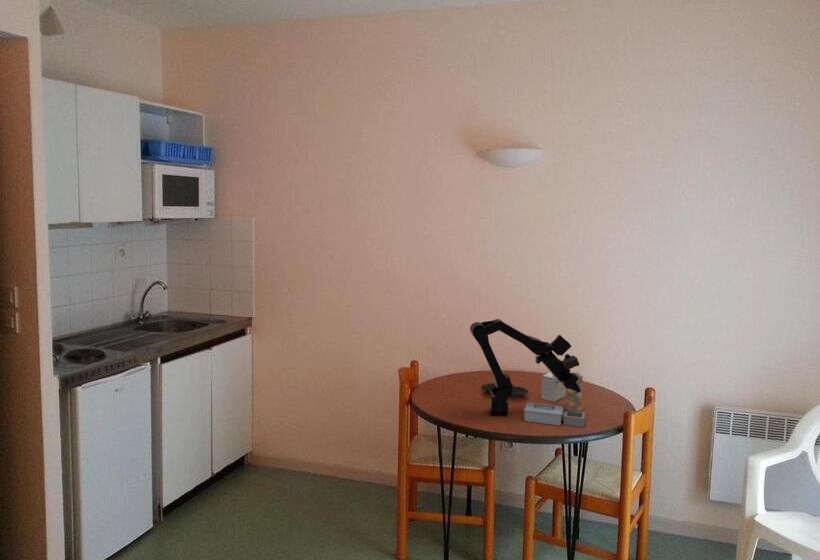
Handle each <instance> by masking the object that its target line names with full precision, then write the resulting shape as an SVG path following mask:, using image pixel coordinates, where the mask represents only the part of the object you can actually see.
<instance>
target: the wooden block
mask: <svg viewBox="0 0 820 560" xmlns="http://www.w3.org/2000/svg"><path fill="white" fill-rule="evenodd" d="M573 373H574V374H575V375H576V376H577V377H578V378H579V379H578V380H577V381H576V383H577V385H578V387H579V388H580V390H581V391H580V392H576V391H574V390H572V389H567V397H566V410H568V411H576V412H582V411H581V410H582V395H583V394H582V393H583V382H584V381H583V378H584V375H583V374H581V373H580V372H573Z"/></svg>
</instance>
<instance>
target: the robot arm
mask: <svg viewBox="0 0 820 560" xmlns="http://www.w3.org/2000/svg"><path fill="white" fill-rule="evenodd" d="M469 332H470V333H471V335H472V336H473V338H474V340H475V341H476V342H477V343H478V345H479V347H480V349H481V351H482V353H483V355H484V358H485V360H486V362H487V364H488V367H489V368H490V371H491V373H492V375H493V382H494V386H493V387H492V388H491V389H490V390H489V391H490V392H489V393H490V395H491V397H490V408H489V413H490V415H491V416H503V417H504V416H505V417H507V416H508V412H509V402H508V399H509V397H511V395H512V394H513V392H514V388H513V387H514V384H513V383H512V381H511V377H510V376H509V374H507V373H505V374H504V373H503V371H502V369H501V367H500V365H499V362H498V359H497V357H496V355H495V353H494V351H493V348H492V347H491V344H490V340H489V335H492V334H494V333H496V332H501V333H503V334H505V335H506V336H508V337H510V338H512V339H513V340H515V341H516V342H519V343H520V344H521V345H523V346H525V348H527V350H529V351H530V352H531V353H533V354H534V355H535V363H536V364H537V365H539V364H540V363H542V364H543V365H544V366H545V367H546V368H547V369H548V371H550V372H552V374H553V375H554V377H556V378H558V380H559V381H560V382H562V384H563V385H564V386H565V387H566V389H567V390H568V389H572V390H574V391H576V392H580V391H581V390H580V388H579V387H578V385H577V383H576V381H577V380H578V379H579V378H578V377H577V376H576V375H575V374H574V373H575V372H571V369H573V368H575V367H579V366H580V362H579V359H578V358H577V357H576V356H575V355H570V354H569V353H567V351H569V350H571V348H572V345H571V343H570V342H569V341H567V340H566V339H565V338H564V337H563V336H562V335H561V334H558V335H557V336H556V338H555V339H554V340H553V341H551V342H548V341H542V340H541V339H540V338H538V337H535V336H532V335H529V334H528V335H527V334H525V333H523V332H521V331H520V330H518V329H517V328H514V327H513V326H511V325H509V324H508V323H506V322H504V321H502V320H501V319H500V318H496V319H493V320H489V321H487V320H485V321H482V322H479V321H475V322H473V323H472V324H471V325H470V327H469ZM565 353H566V354H565ZM558 356H564V358H563V360H561V359H559V358H558Z"/></svg>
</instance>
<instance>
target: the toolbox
mask: <svg viewBox="0 0 820 560" xmlns="http://www.w3.org/2000/svg"><path fill="white" fill-rule="evenodd" d="M564 410H565V411H564ZM523 413H524V414H523V415H524V418H523V420H524V422H529V423H537V424H545V425H554V426H561V424H562V422H563V426H570V427H577V428H584V426H585V422H586V412H584V411H581V412H576V411H569V410H568V409H565V406H562V405H556V404H555V405H554V404H546V403H539V402H530V401H528V402H526V405H525V408H524V410H523Z"/></svg>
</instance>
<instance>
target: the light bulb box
mask: <svg viewBox="0 0 820 560" xmlns="http://www.w3.org/2000/svg"><path fill="white" fill-rule="evenodd" d="M541 376H542V379H541V380H542V381H541V400H542V399H543V400H546V401H550V402H556V401H558V400H561V399H563V398H564V397H566V389H567V388H566V387H565V386H564V385H563V384H562V382H560V381H559V380H558V378H556V377H554V375H553V374H552V372H551V371H550V372H548V373H546V374H543V375H541Z"/></svg>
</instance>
